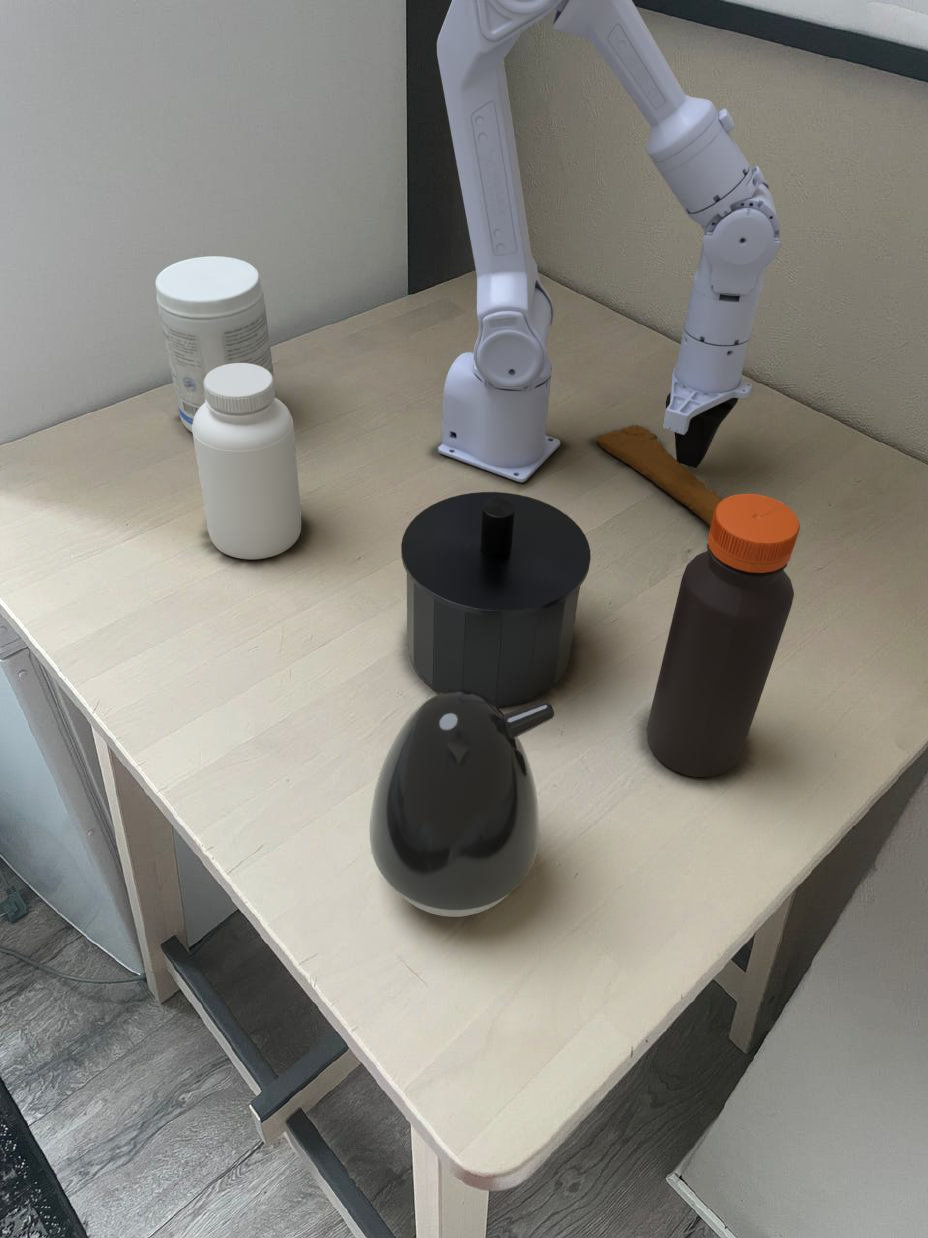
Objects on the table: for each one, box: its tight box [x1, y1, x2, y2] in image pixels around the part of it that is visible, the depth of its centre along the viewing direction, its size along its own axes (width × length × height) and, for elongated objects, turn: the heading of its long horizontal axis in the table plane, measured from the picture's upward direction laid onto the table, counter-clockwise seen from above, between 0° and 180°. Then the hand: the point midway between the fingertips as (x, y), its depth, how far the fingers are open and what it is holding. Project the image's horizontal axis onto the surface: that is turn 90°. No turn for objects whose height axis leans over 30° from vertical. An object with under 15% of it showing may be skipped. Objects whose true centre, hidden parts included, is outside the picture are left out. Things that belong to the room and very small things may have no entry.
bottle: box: [645, 493, 801, 778], centre depth 66 cm, size 7×7×20 cm
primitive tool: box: [595, 424, 725, 527], centre depth 95 cm, size 19×6×4 cm, turn 29°
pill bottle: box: [191, 363, 302, 560], centre depth 84 cm, size 8×8×15 cm
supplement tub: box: [155, 255, 277, 434], centre depth 97 cm, size 10×10×15 cm
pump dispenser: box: [368, 690, 555, 918], centre depth 59 cm, size 10×10×15 cm
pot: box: [406, 573, 581, 708], centre depth 76 cm, size 12×12×10 cm
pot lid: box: [400, 491, 592, 616], centre depth 72 cm, size 13×13×5 cm
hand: (688, 462), depth 97 cm, fingers closed
